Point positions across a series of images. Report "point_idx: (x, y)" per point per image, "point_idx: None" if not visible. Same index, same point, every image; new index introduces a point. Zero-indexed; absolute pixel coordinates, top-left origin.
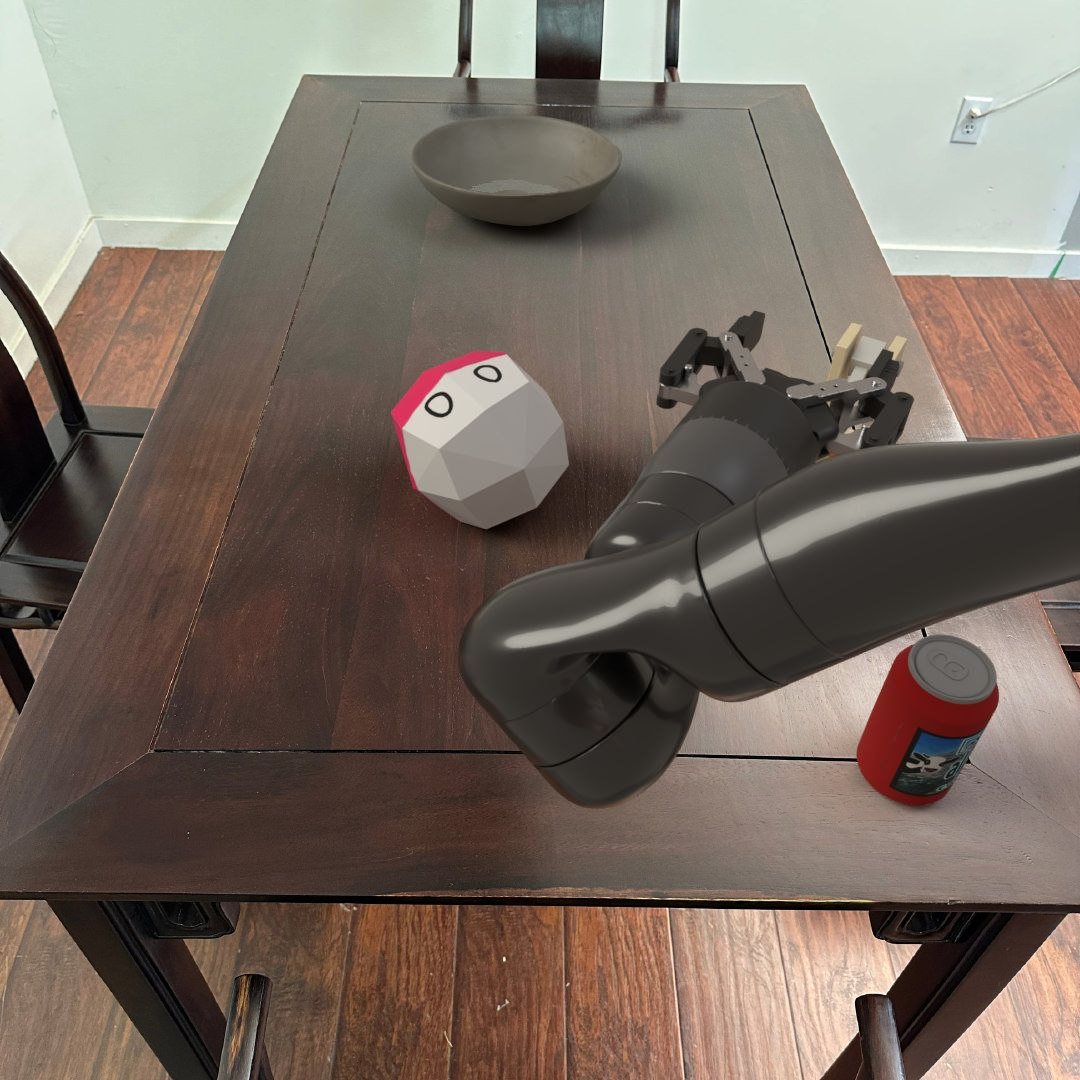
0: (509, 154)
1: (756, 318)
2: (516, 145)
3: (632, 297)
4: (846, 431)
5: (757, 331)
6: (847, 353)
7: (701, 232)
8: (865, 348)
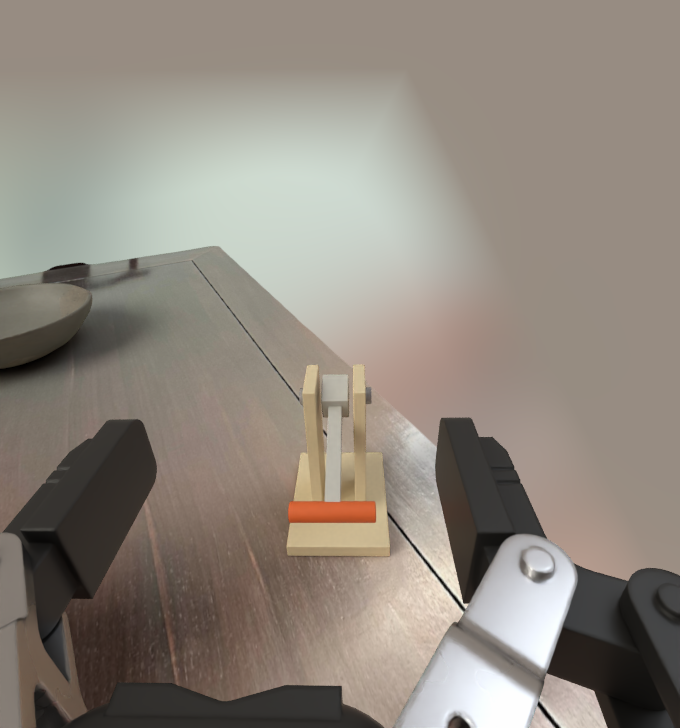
0: (3, 316)
1: (108, 444)
2: (8, 309)
3: (121, 396)
4: None
5: (131, 469)
6: (316, 397)
7: (173, 332)
8: (330, 386)
